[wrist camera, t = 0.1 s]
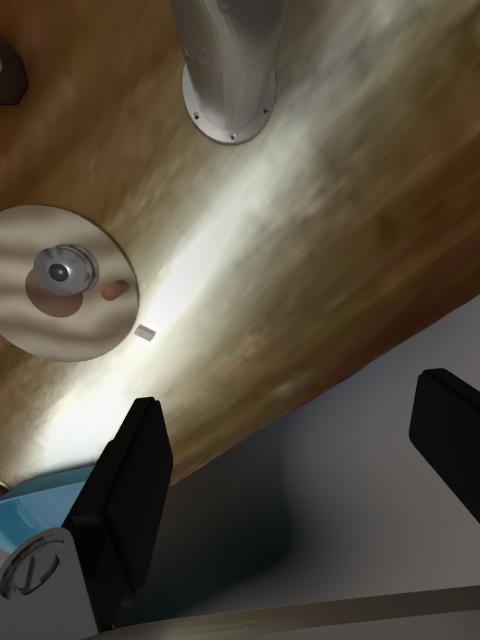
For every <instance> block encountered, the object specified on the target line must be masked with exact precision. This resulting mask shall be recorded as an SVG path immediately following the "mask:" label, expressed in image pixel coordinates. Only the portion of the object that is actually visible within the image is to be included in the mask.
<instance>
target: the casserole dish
mask: <svg viewBox="0 0 480 640" xmlns="http://www.w3.org/2000/svg"><path fill="white" fill-rule="evenodd" d="M94 466H95V465H92V466H88V467H83V468H79V469H74V470H70V471H65V472H60V473H56V474H51V475H47V476H43V477H39V478H35V479H32V480H29V481H27V482H24V483H22V484H20V485H18V486H16V487H15V488H13V489H12V490H10V491H9V492H8V493H6V494H5V495H4V496H3V497H1V498H0V548H1V549H2V550H4V551H6V552H9V553H11V554H12V553H13V552H14V551H15V550H16V549H17V548H18V547H19V546H20V545H21V544H23V543H24V542H25V541H26V540H28V539H29V538H30V537H32V536H34V535H36V534H38V533H39V532H41V531H43V530H47V529H50V528H53V527H61V525H62V523H63V522H64V520H65V518H66V516H67V515H68V513H69V511H70V509H71V507H72V506H73V504H74V502H75V500H76V499H77V497H78V495H79V493H80V491H81V490H82V488H83V486H84V484H85V482H86V481H87V479H88V477H89V475H90V474H91V472H92V470H93V468H94Z"/></svg>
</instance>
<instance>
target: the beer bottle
mask: <svg viewBox="0 0 480 640" xmlns="http://www.w3.org/2000/svg"><path fill="white" fill-rule="evenodd" d="M26 88H27V82H26V78H25V73H24V69H23V64H22V60H21V57H20V56H19V55H18V54H17V53H16V52H15V51H14V50H13V49H12V48H11V47H9V46H8V45H7V44H6V43H5V42H4V41H3V40H2V39H1V38H0V104H17V103H18V101H19V99H20V98H21V96H22V94H23V93H24V91H25V90H26Z"/></svg>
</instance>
